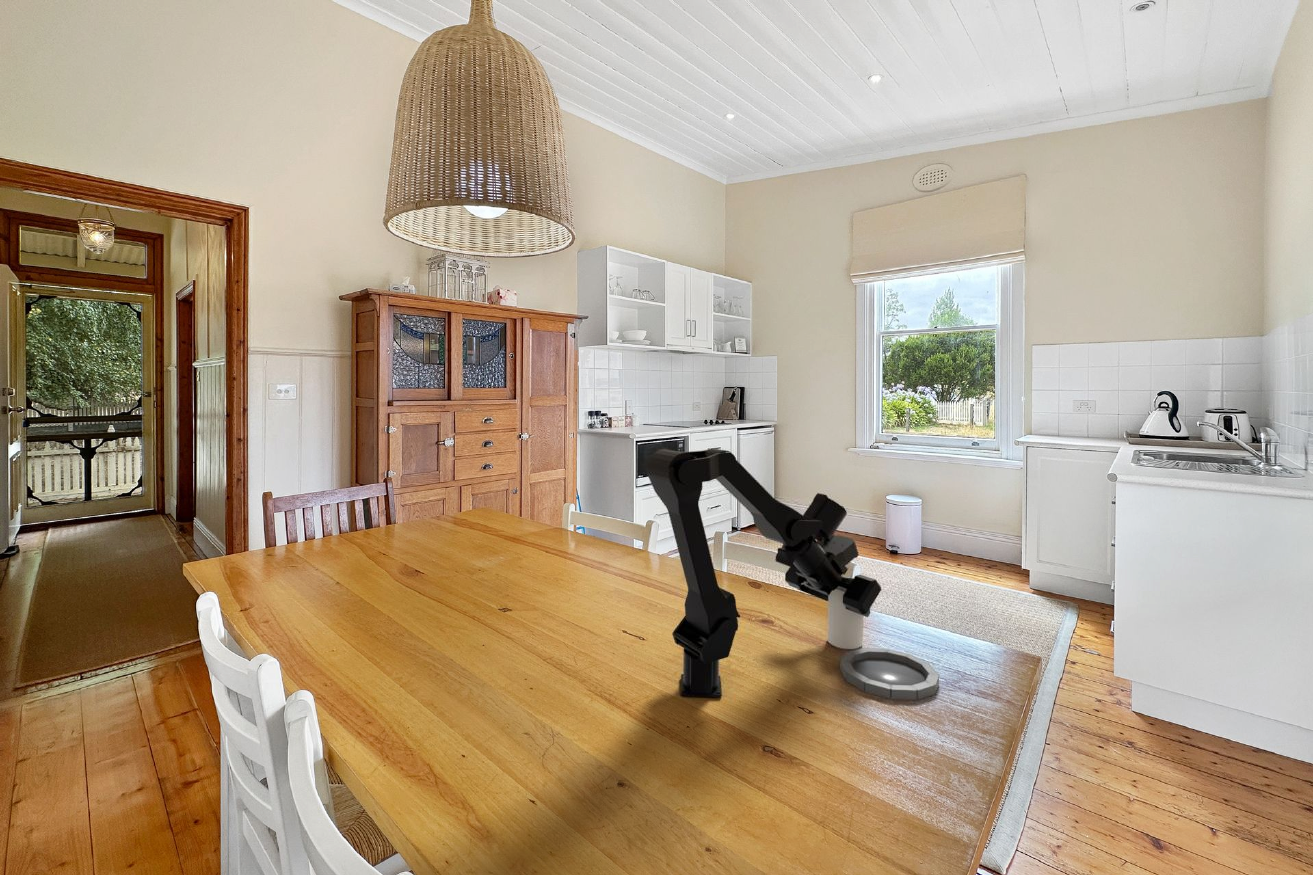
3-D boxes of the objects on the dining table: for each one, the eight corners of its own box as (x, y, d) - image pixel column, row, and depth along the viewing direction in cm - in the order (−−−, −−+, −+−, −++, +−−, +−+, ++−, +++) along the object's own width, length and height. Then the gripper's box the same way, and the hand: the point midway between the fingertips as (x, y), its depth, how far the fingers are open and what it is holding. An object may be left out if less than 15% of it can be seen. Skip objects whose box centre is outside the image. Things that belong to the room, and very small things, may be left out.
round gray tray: (953, 701, 93) (953, 691, 93) (854, 697, 94) (855, 688, 94) (917, 657, 108) (917, 649, 108) (832, 655, 109) (832, 646, 108)
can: (835, 633, 118) (837, 574, 117) (867, 642, 114) (869, 580, 113) (821, 644, 113) (823, 582, 112) (854, 653, 109) (857, 589, 108)
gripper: (876, 535, 102) (914, 587, 109) (797, 515, 118) (834, 561, 124) (842, 588, 98) (884, 638, 105) (765, 560, 114) (806, 605, 121)
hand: (850, 607), depth 114 cm, fingers open, 8 cm apart
